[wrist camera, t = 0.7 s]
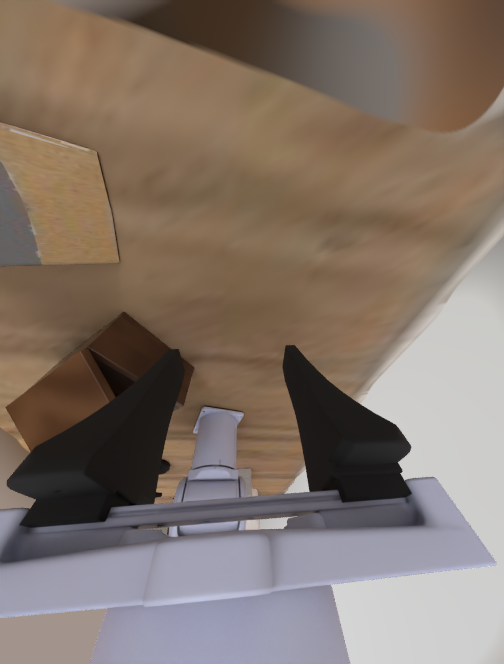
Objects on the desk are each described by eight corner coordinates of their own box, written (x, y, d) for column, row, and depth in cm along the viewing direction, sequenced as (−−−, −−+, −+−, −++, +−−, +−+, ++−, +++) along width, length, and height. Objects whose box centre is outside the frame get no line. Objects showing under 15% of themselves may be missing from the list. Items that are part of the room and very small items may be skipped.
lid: (156, 468, 16) (150, 475, 15) (70, 500, 20) (62, 507, 19) (88, 348, 16) (79, 350, 15) (14, 403, 20) (5, 407, 19)
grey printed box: (251, 468, 52) (253, 517, 44) (248, 476, 56) (250, 523, 48) (238, 468, 52) (238, 518, 44) (236, 477, 56) (236, 523, 47)
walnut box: (194, 367, 27) (183, 406, 22) (134, 400, 31) (113, 440, 26) (124, 311, 21) (87, 346, 16) (60, 361, 25) (13, 402, 20)
